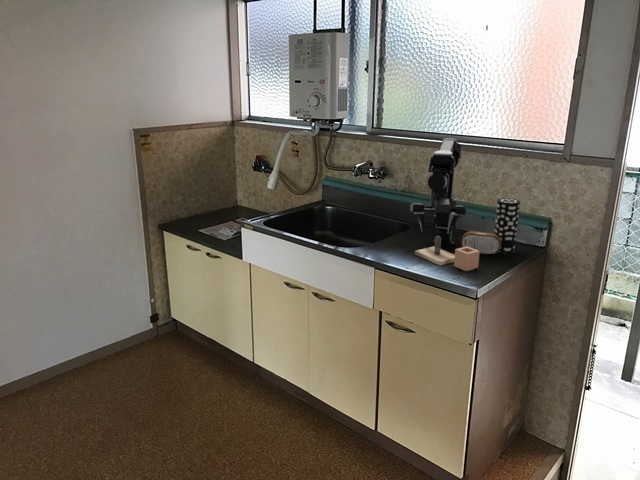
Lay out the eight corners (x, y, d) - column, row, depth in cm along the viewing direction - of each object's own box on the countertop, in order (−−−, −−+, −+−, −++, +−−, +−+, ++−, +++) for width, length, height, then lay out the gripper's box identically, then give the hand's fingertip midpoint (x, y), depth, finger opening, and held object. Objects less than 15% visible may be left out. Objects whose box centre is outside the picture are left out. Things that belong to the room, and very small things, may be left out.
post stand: (433, 249, 207) (435, 229, 204) (459, 260, 196) (461, 238, 193) (414, 254, 202) (415, 233, 199) (439, 265, 191) (441, 243, 188)
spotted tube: (508, 254, 201) (514, 204, 195) (488, 250, 207) (493, 201, 200) (518, 249, 207) (524, 200, 201) (498, 245, 212) (503, 197, 206)
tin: (500, 254, 202) (502, 233, 200) (499, 256, 200) (502, 235, 197) (460, 249, 207) (462, 229, 205) (459, 252, 205) (461, 231, 202)
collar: (465, 262, 193) (467, 246, 191) (477, 267, 188) (479, 251, 186) (453, 265, 190) (455, 249, 188) (466, 271, 185) (467, 254, 183)
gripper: (417, 189, 175) (413, 235, 177) (472, 192, 175) (468, 238, 178) (411, 187, 186) (408, 230, 188) (463, 189, 186) (459, 232, 189)
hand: (435, 233), depth 186 cm, fingers open, 9 cm apart
